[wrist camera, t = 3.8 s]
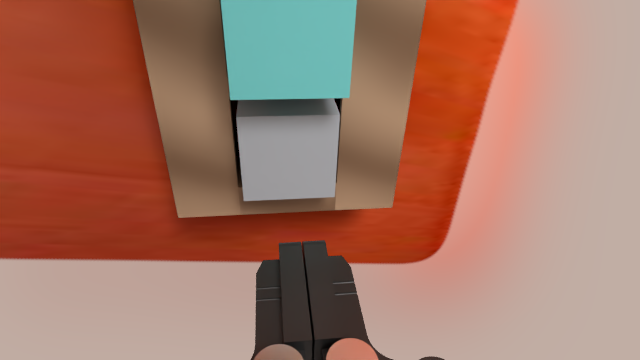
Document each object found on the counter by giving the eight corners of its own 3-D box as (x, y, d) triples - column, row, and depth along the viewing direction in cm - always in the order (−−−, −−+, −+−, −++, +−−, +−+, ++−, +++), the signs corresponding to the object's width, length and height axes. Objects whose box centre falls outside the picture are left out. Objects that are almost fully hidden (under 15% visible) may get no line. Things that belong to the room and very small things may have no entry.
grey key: (240, 83, 21) (236, 116, 17) (327, 82, 21) (339, 114, 18) (246, 158, 23) (243, 201, 20) (324, 156, 24) (334, 197, 20)
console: (106, -327, 15) (45, -417, 10) (428, -295, 16) (486, -364, 12) (191, 168, 26) (178, 217, 22) (372, 162, 28) (392, 207, 24)
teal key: (226, -49, 16) (216, -37, 13) (339, -46, 16) (359, -34, 13) (236, 65, 18) (230, 99, 15) (334, 64, 19) (349, 98, 16)
